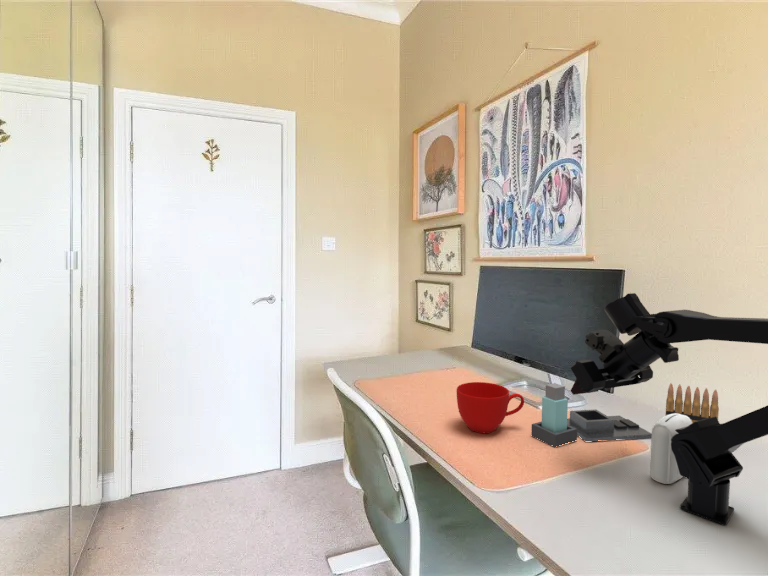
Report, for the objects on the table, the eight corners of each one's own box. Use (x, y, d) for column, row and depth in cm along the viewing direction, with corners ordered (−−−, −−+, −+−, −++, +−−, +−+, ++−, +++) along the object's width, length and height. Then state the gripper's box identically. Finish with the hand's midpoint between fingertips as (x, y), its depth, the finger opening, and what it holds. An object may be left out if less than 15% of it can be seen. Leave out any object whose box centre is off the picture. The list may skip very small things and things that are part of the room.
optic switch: (652, 438, 105) (653, 422, 105) (586, 442, 103) (586, 426, 103) (619, 419, 117) (620, 404, 117) (559, 422, 115) (559, 407, 114)
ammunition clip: (717, 438, 105) (720, 389, 104) (717, 441, 104) (720, 391, 102) (664, 428, 111) (666, 381, 110) (663, 430, 110) (666, 383, 109)
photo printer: (670, 464, 93) (673, 406, 92) (693, 472, 89) (697, 413, 88) (645, 478, 87) (648, 417, 86) (669, 487, 83) (672, 424, 82)
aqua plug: (566, 440, 104) (568, 386, 103) (554, 443, 103) (556, 389, 101) (553, 433, 108) (554, 382, 107) (541, 437, 106) (542, 384, 105)
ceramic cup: (531, 439, 105) (532, 398, 104) (460, 438, 105) (460, 398, 105) (516, 418, 118) (516, 382, 117) (452, 418, 118) (453, 381, 117)
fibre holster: (576, 441, 104) (577, 428, 103) (555, 447, 100) (555, 435, 100) (552, 430, 110) (552, 418, 110) (531, 436, 107) (531, 424, 106)
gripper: (644, 316, 95) (597, 354, 106) (581, 323, 87) (538, 362, 99) (678, 362, 89) (624, 396, 100) (613, 373, 81) (563, 408, 92)
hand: (587, 389), depth 98 cm, fingers open, 9 cm apart
